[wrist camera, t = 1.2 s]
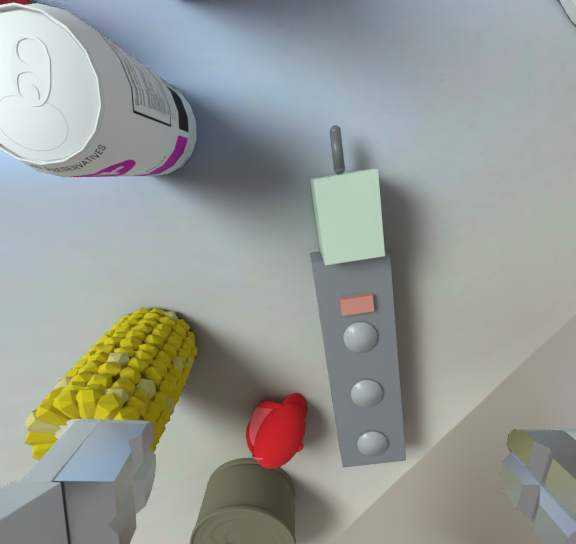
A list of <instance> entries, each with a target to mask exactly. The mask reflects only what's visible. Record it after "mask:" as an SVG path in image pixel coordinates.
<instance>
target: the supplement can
mask: <svg viewBox="0 0 576 544" xmlns="http://www.w3.org/2000/svg"><path fill="white" fill-rule="evenodd" d="M196 140H197V129H196V120H195V117H194V114H193V111H192V109H191V106H190V104H189V103H188V102H187V100H186V99H185V98H184V96H183V95H182V94H181V92H180V91H179V90H177V89H176V88H175V87H173V86H172V85H171V84H169V83H168V82H166V81H165V80H164V79H162V78H161V77H160V76H158V75H157V74H155V73H154V72H153V71H151V70H150V69H148V68H147V67H146V66H144V65H143V64H142V63H140V62H139V61H137V60H136V59H135V58H133V57H132V56H131V55H129V54H128V53H126V52H125V51H124V50H122V49H121V48H120V47H118V46H117V45H115V44H114V43H113V42H111V41H110V40H108V39H107V38H106V37H104V36H103V35H102V34H100V33H99V32H97V31H96V30H95V29H93V28H92V27H90V26H89V25H87V24H86V23H84V22H83V21H81V20H80V19H78V18H77V17H76V16H74V15H73V14H71V13H70V12H68V11H67V10H63V9H59V8H55V7H51V6H47V5H43V4H39V3H34V4H28V5H22V4H18V3H9V4H3V5H0V149H1V150H3V151H4V152H6V153H8V154H9V155H11V156H13V157H14V158H16V159H18V160H20V161H21V162H23V163H25V164H26V165H28V166H30V167H31V168H33V169H35V170H36V171H38V172H43V173H47V174H52V175H56V176H61V177H104V176H157V175H164V174H170V173H172V172H174V171H176V170H177V169H179V168H181V167H182V166H183V165H184V164H185V163H186V162H187V160H188V159H189V158H190V156H191V155H192V153H193V150H194V147H195V143H196Z"/></svg>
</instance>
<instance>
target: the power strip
mask: <svg viewBox="0 0 576 544" xmlns="http://www.w3.org/2000/svg"><path fill="white" fill-rule="evenodd" d="M384 250H385V256H382V257H376V258H369V259H363V260H357V261H350V262H344V263H337V264H331V265H325V263H324V261H323V258H322V255H321V252H315V253H310V255H311V262H312V268H313V275H314V282H315V288H316V295H317V302H318V308H319V315H320V322H321V328H322V335H323V341H324V348H325V355H326V361H327V368H328V375H329V381H330V388H331V395H332V401H333V408H334V415H335V421H336V428H337V435H338V441H339V447H340V453H341V459H342V465H343V467H351V466H360V465H369V464H378V463H386V462H395V461H404V460H406V454H405V441H404V428H403V415H402V402H401V389H400V376H399V363H398V350H397V337H396V324H395V311H394V298H393V286H392V273H391V260H390V251H389V250H387V249H386V248H385V247H384Z"/></svg>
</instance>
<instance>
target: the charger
mask: <svg viewBox="0 0 576 544" xmlns="http://www.w3.org/2000/svg"><path fill="white" fill-rule="evenodd" d="M330 139H331V147H332V156H333V164H334V171H335V173H337V174H334V175H328V176H322V177H316V178H311V179H310V185H311V192H312V199H313V206H314V213H315V220H316V227H317V234H318V241H319V248H320V252H321V255H322V258H323V261H324V263H325V265H331V264H337V263H344V262H350V261H357V260H363V259H369V258H376V257H382V256H385V250H384V237H383V225H382V213H381V201H380V189H379V176H378V169H365V170H357V171H351V172H345V173H343V172H344V170H345V166H344V157H343V148H342V139H341V130H340V128H339V127H338V126H332V127H331V129H330Z"/></svg>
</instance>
